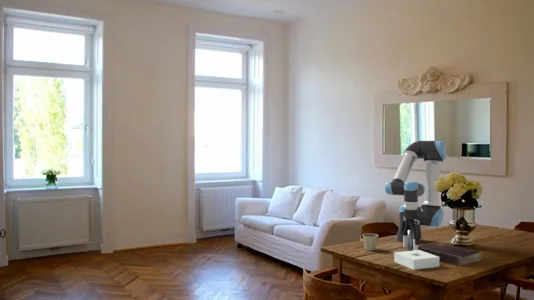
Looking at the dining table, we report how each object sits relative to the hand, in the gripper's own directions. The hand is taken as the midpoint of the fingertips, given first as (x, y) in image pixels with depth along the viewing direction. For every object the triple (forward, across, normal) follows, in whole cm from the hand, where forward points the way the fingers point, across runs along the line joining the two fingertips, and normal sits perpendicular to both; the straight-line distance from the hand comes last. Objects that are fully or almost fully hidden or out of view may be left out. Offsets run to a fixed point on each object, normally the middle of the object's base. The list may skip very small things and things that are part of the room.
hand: (410, 248), depth 265 cm
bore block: (+3, +18, -10) cm, 21 cm away
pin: (+3, 0, 0) cm, 3 cm away
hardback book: (+4, +12, +15) cm, 20 cm away
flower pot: (+4, -18, -15) cm, 24 cm away
